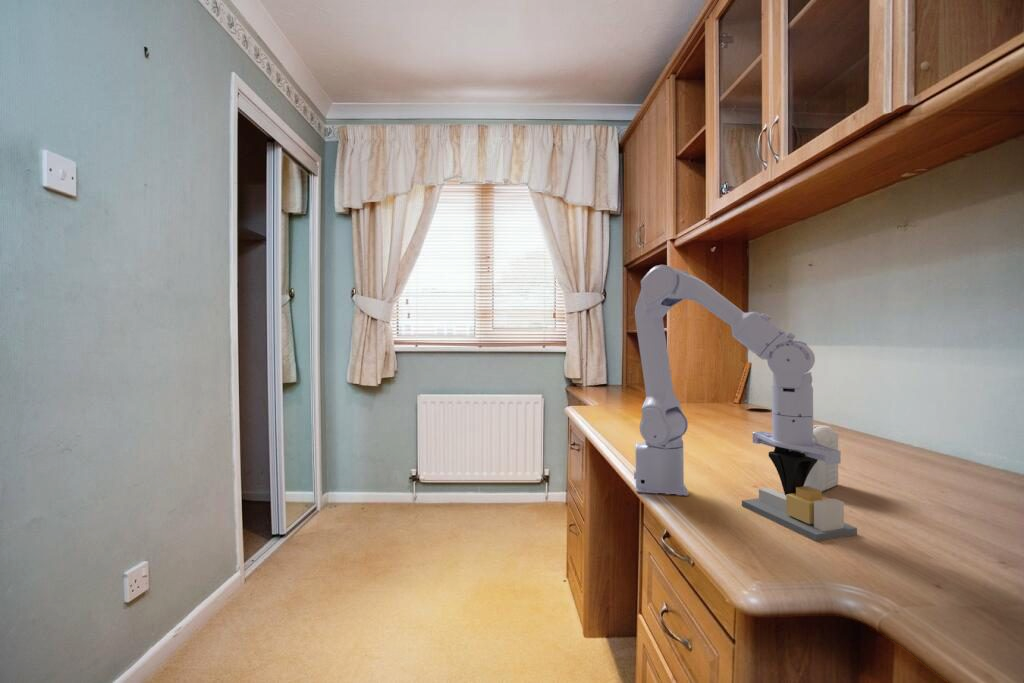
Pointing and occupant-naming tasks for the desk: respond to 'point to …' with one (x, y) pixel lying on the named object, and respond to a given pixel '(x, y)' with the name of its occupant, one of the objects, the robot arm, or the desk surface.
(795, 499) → the slider
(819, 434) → the photo printer
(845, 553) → the desk surface
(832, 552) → the desk surface
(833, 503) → the rail board
